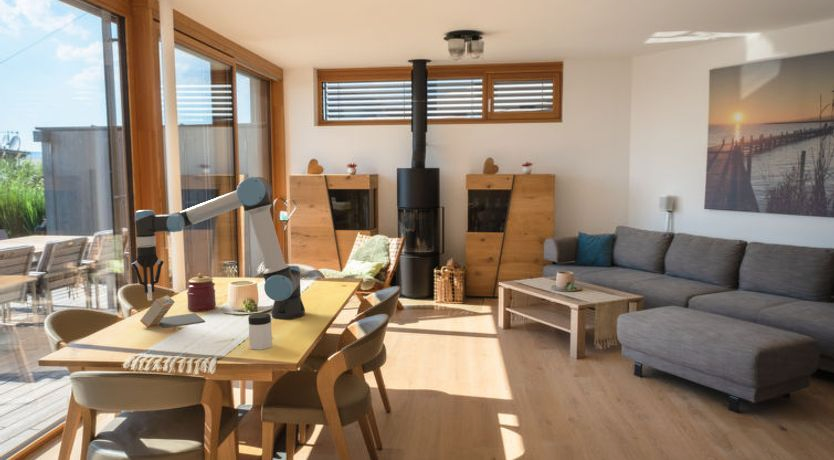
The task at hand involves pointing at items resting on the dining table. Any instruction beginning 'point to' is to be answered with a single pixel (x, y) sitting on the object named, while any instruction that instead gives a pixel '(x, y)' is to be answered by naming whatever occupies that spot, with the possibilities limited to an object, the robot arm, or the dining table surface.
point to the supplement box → (157, 311)
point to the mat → (180, 320)
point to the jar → (260, 331)
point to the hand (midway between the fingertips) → (149, 299)
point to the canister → (201, 293)
